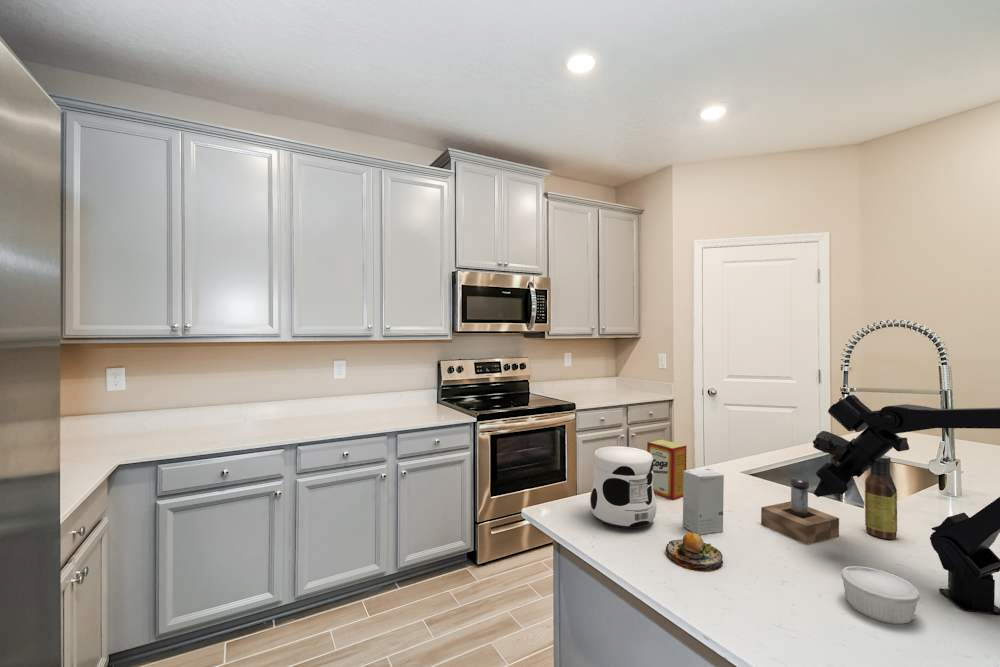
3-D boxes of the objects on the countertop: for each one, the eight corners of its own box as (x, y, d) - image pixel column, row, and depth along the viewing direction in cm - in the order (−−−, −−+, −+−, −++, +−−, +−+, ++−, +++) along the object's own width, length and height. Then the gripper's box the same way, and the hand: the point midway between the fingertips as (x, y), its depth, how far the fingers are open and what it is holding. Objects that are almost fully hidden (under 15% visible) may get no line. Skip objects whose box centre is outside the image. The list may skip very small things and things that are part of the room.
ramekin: (881, 591, 90) (881, 564, 90) (937, 628, 79) (938, 598, 79) (826, 592, 89) (826, 565, 89) (875, 630, 78) (875, 600, 78)
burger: (732, 560, 102) (732, 527, 102) (708, 579, 94) (708, 543, 94) (681, 541, 111) (681, 510, 111) (655, 556, 103) (655, 524, 103)
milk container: (604, 502, 135) (604, 442, 134) (663, 516, 125) (664, 451, 125) (579, 523, 120) (580, 455, 120) (645, 540, 111) (645, 467, 110)
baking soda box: (647, 490, 144) (647, 440, 144) (660, 486, 148) (660, 438, 147) (672, 500, 136) (673, 447, 136) (686, 496, 140) (686, 444, 139)
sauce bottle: (903, 541, 110) (904, 460, 110) (874, 539, 111) (875, 459, 111) (886, 529, 117) (887, 453, 116) (858, 527, 118) (859, 451, 117)
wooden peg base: (838, 536, 113) (839, 518, 113) (806, 544, 109) (806, 526, 109) (792, 517, 124) (792, 500, 124) (761, 524, 120) (761, 507, 120)
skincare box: (697, 536, 113) (698, 477, 113) (681, 525, 119) (681, 469, 118) (724, 531, 115) (725, 473, 115) (707, 521, 121) (707, 466, 121)
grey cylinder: (807, 535, 114) (808, 483, 113) (788, 530, 116) (789, 480, 116) (808, 529, 117) (809, 479, 116) (790, 525, 119) (791, 476, 119)
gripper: (848, 411, 112) (808, 451, 121) (816, 434, 101) (776, 475, 110) (896, 444, 105) (850, 484, 114) (867, 472, 94) (819, 513, 104)
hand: (823, 488), depth 111 cm, fingers open, 9 cm apart
